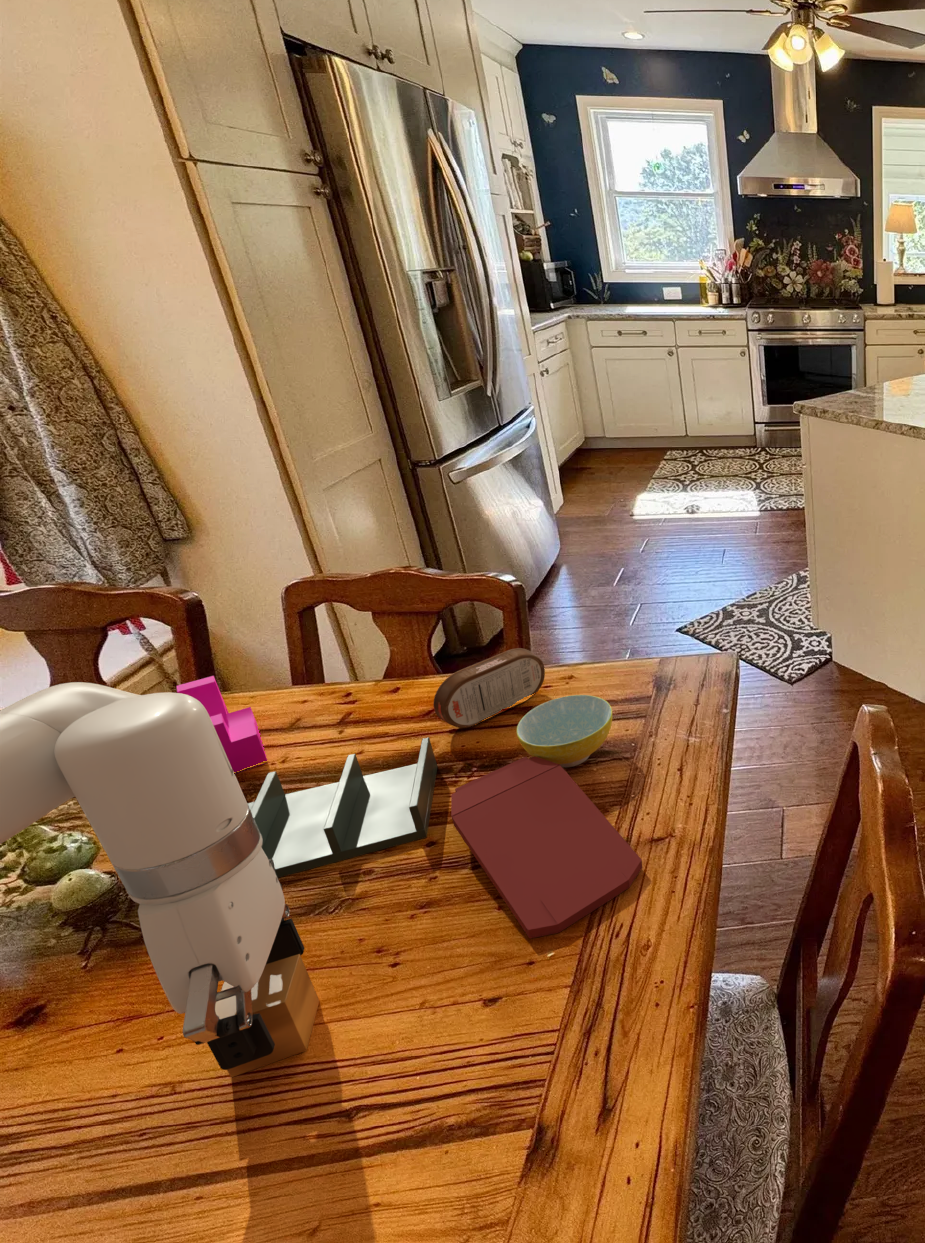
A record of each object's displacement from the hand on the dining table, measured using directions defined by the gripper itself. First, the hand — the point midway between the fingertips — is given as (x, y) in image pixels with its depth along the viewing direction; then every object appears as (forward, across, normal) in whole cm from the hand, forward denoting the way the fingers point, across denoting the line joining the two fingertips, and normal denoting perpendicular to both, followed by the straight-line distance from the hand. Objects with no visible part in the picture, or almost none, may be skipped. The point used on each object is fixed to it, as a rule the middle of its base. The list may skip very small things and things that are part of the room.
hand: (267, 1006), depth 62 cm
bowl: (+4, -30, +25) cm, 39 cm away
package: (+4, 0, 0) cm, 4 cm away
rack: (+4, -29, -3) cm, 29 cm away
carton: (+4, -14, +20) cm, 25 cm away
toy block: (+4, -52, -16) cm, 55 cm away
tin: (+4, -46, +16) cm, 49 cm away
